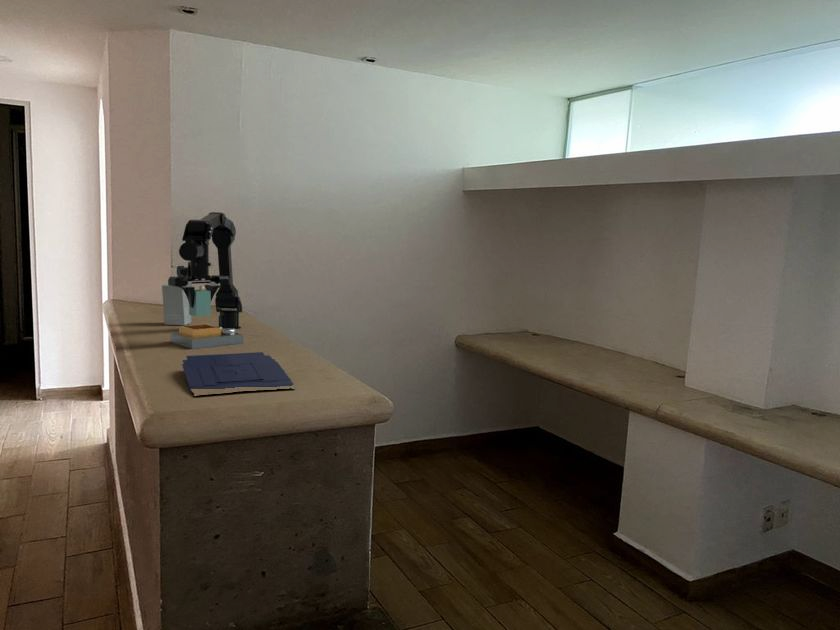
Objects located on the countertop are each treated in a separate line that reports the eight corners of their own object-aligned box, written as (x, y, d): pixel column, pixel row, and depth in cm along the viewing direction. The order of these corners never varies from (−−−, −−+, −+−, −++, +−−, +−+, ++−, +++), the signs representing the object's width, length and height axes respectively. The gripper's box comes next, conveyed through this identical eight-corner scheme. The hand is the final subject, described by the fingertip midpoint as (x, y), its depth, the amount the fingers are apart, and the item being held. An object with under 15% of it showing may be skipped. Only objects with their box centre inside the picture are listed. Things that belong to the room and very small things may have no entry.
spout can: (203, 313, 216) (203, 284, 215) (210, 315, 213) (210, 286, 211) (189, 314, 212) (188, 285, 211) (196, 316, 209) (196, 286, 208)
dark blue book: (268, 360, 186) (269, 348, 185) (296, 399, 160) (297, 385, 159) (178, 366, 175) (178, 353, 174) (192, 408, 149) (192, 393, 148)
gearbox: (220, 336, 227) (220, 321, 226) (243, 343, 217) (243, 327, 216) (170, 341, 214) (170, 325, 214) (192, 349, 204) (191, 331, 203)
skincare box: (191, 323, 253) (191, 283, 251) (183, 326, 246) (182, 284, 244) (170, 322, 254) (170, 282, 252) (162, 325, 247) (161, 283, 245)
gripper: (213, 257, 222) (214, 302, 224) (160, 257, 209) (160, 306, 211) (230, 259, 215) (230, 306, 217) (175, 260, 201) (176, 310, 203)
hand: (199, 307), depth 212 cm, fingers closed on spout can, 5 cm apart
